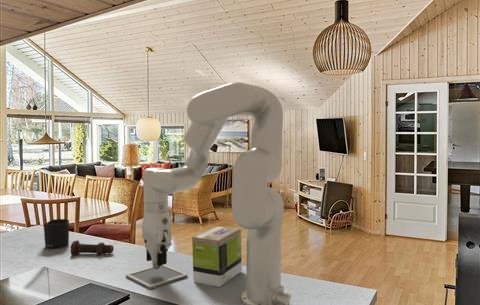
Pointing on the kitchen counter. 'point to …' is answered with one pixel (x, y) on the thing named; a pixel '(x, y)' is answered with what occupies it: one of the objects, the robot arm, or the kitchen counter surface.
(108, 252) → the bolt
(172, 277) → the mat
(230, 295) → the kitchen counter surface
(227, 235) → the tea box
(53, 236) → the pen holder
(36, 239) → the kitchen counter surface
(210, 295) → the kitchen counter surface
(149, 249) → the lightbulb
